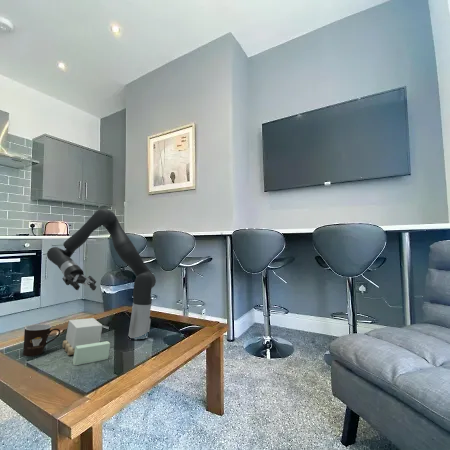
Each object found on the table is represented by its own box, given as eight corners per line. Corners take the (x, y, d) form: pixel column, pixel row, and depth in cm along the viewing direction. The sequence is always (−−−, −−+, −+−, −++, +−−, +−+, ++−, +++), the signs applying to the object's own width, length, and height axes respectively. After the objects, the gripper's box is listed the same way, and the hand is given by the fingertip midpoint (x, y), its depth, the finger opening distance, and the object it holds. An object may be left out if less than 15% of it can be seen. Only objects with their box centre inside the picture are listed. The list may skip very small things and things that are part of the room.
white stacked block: (90, 335, 115) (93, 318, 116) (99, 344, 106) (102, 325, 107) (65, 338, 108) (69, 320, 109) (73, 348, 99) (76, 327, 100)
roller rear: (91, 342, 115) (92, 335, 115) (93, 344, 113) (94, 337, 113) (62, 346, 107) (63, 339, 107) (63, 349, 105) (64, 341, 105)
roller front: (98, 348, 109) (99, 341, 109) (100, 351, 106) (101, 343, 107) (66, 354, 100) (68, 346, 101) (68, 356, 98) (69, 348, 99)
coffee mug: (14, 357, 93) (20, 330, 94) (26, 349, 101) (31, 323, 103) (49, 357, 96) (54, 330, 97) (58, 349, 104) (62, 324, 106)
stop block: (105, 356, 102) (107, 341, 103) (107, 358, 100) (110, 343, 100) (72, 362, 94) (75, 346, 94) (74, 365, 91) (77, 348, 92)
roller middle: (94, 345, 112) (96, 338, 112) (96, 347, 110) (98, 340, 110) (64, 350, 104) (65, 342, 104) (65, 352, 101) (67, 345, 102)
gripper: (61, 262, 119) (76, 281, 111) (88, 266, 131) (103, 282, 123) (53, 276, 119) (68, 295, 111) (81, 278, 131) (96, 295, 123)
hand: (86, 288), depth 117 cm, fingers open, 8 cm apart
